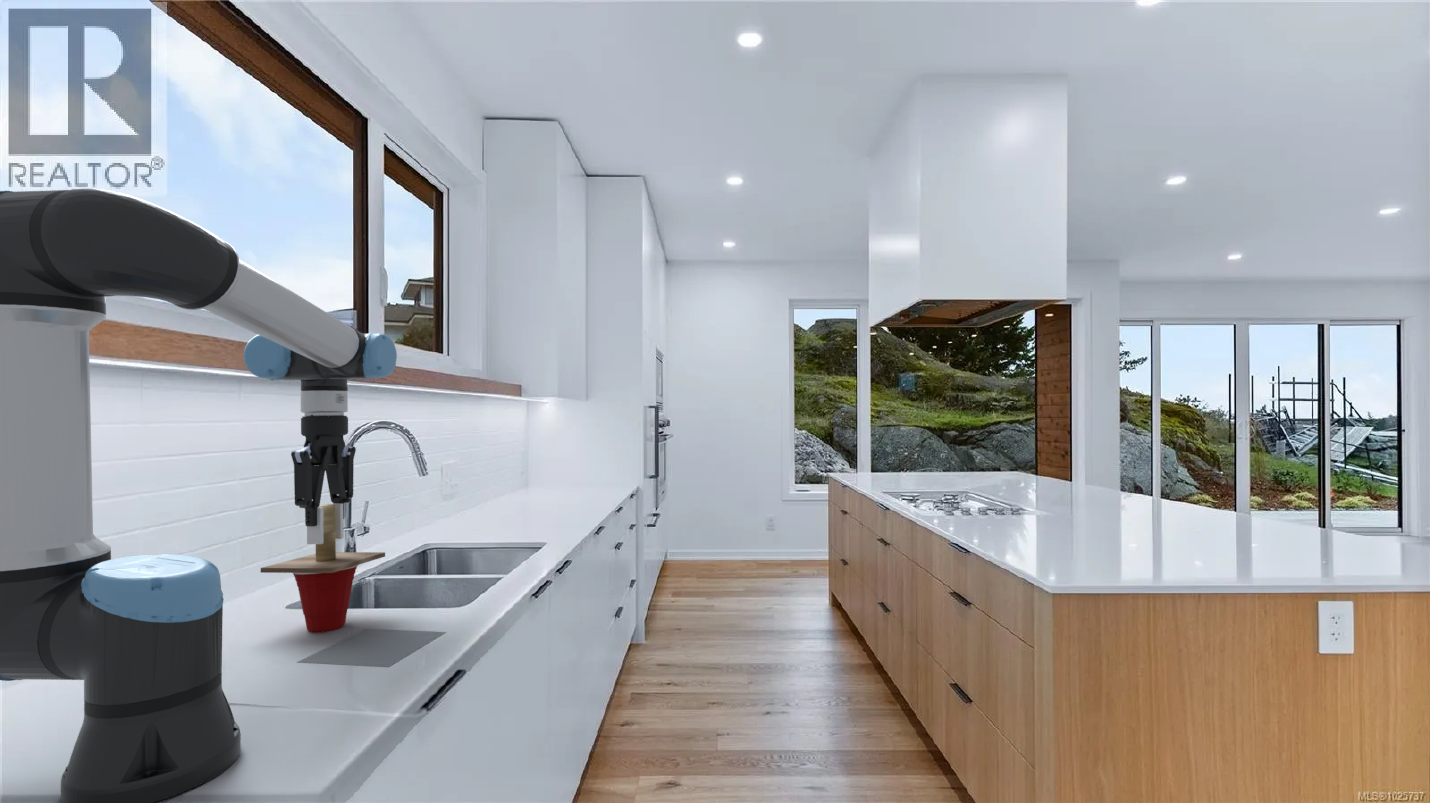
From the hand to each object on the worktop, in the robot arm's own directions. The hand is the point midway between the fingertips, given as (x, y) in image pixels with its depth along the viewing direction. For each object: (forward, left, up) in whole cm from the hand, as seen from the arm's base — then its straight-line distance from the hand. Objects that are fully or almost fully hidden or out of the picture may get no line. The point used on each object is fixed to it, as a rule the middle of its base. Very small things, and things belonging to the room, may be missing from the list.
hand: (325, 540), depth 121 cm
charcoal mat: (-8, -16, -16) cm, 24 cm away
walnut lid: (0, 0, -4) cm, 4 cm away
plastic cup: (0, 0, -16) cm, 16 cm away
